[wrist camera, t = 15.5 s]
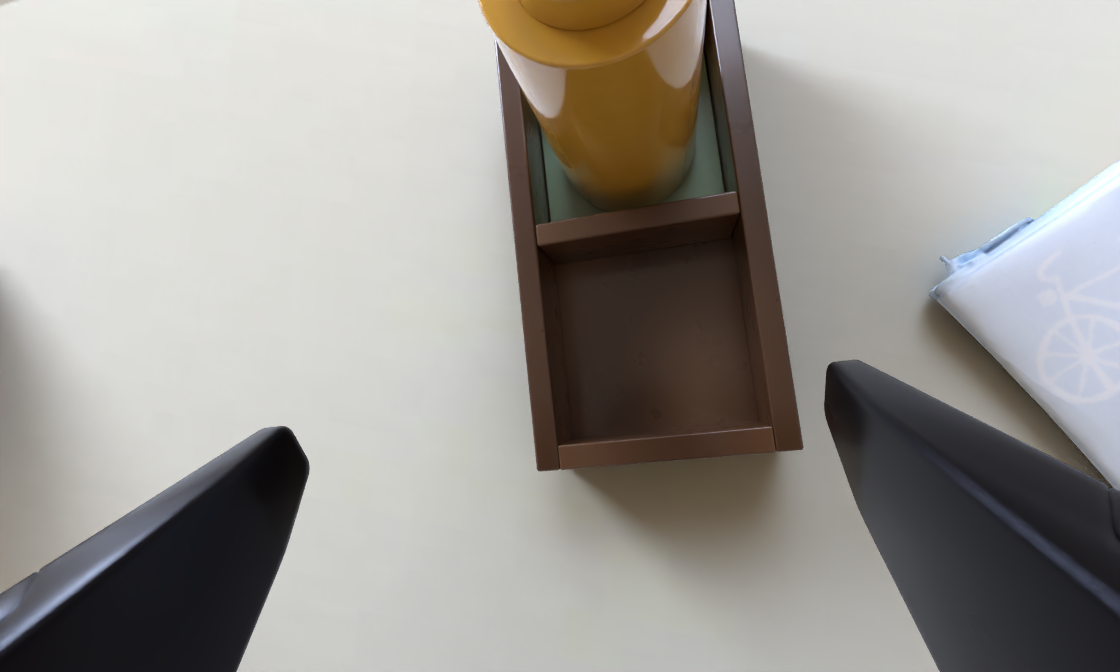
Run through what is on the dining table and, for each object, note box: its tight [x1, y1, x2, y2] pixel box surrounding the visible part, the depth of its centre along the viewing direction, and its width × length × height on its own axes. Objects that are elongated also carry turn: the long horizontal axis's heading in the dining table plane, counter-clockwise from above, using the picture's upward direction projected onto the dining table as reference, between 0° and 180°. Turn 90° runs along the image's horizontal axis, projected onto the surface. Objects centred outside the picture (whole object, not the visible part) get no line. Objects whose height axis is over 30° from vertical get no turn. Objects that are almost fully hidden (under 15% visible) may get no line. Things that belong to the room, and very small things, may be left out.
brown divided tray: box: [494, 0, 803, 471], centre depth 20 cm, size 8×16×4 cm, turn 6°
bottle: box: [478, 0, 707, 212], centre depth 15 cm, size 5×5×13 cm
